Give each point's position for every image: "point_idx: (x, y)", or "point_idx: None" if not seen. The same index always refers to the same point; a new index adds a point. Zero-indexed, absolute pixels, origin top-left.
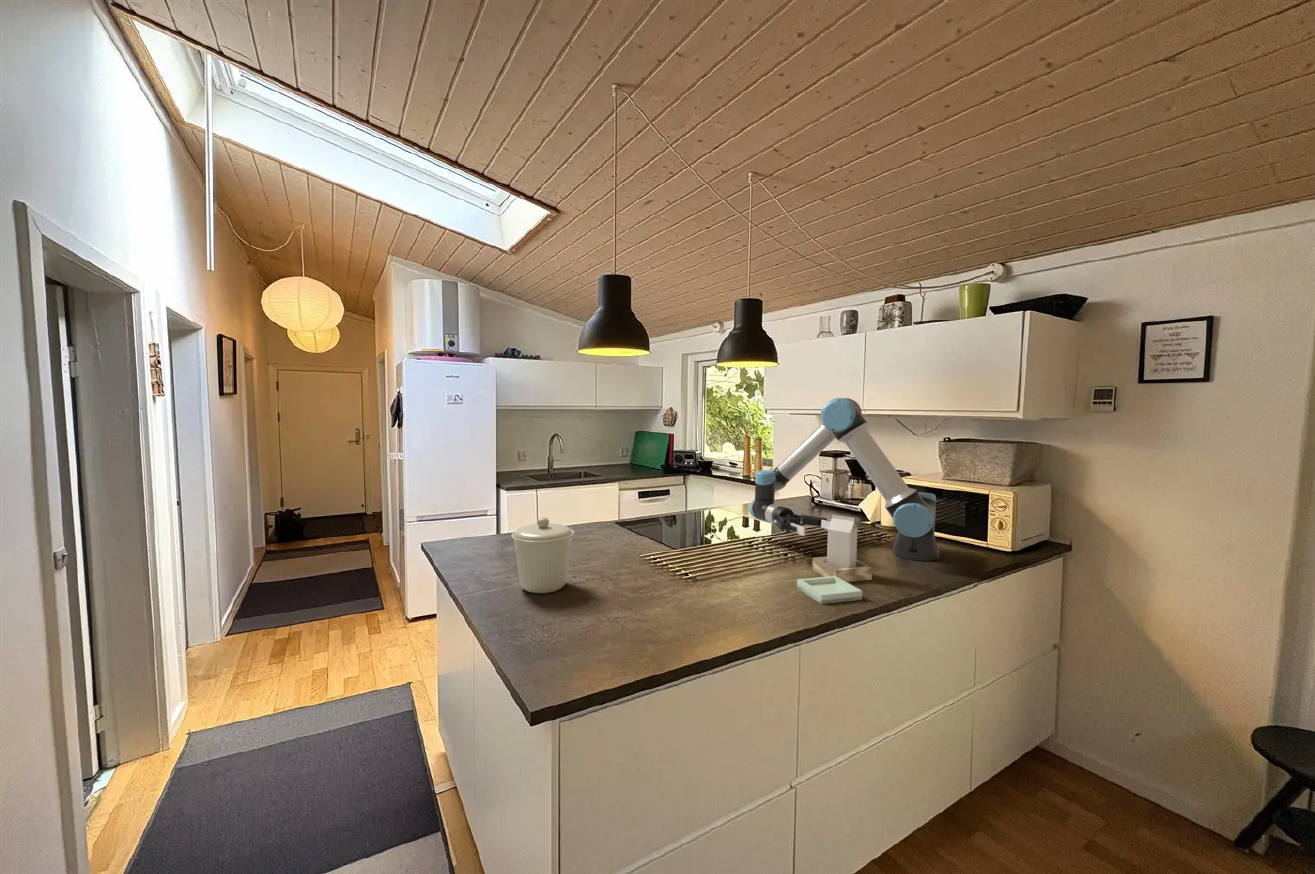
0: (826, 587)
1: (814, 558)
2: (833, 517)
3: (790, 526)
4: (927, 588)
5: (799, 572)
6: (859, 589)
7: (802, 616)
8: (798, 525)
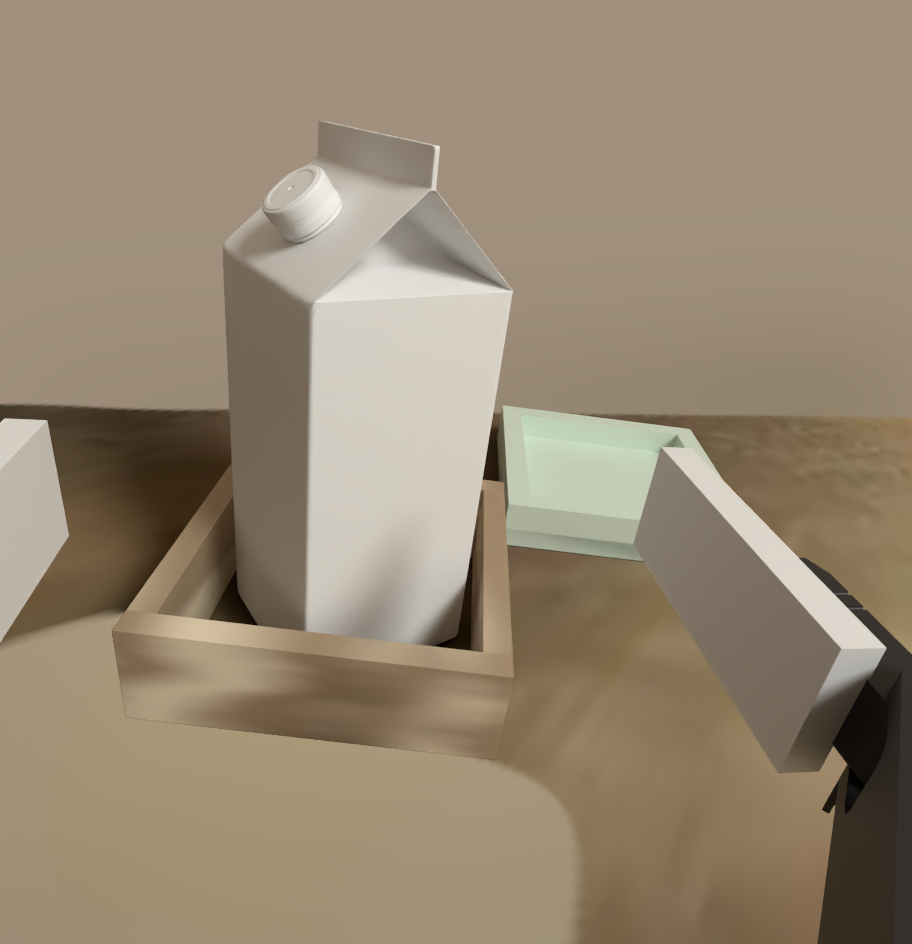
0: (601, 499)
1: (505, 661)
2: (426, 175)
3: (874, 621)
4: (125, 409)
5: (640, 748)
6: (504, 412)
7: (777, 441)
8: (738, 521)
